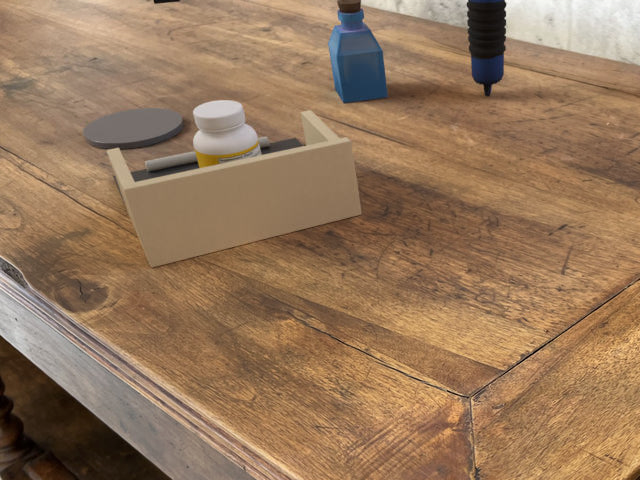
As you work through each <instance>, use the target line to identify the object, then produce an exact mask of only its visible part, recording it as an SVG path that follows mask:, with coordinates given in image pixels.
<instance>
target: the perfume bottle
mask: <svg viewBox="0 0 640 480" xmlns="http://www.w3.org/2000/svg"><path fill="white" fill-rule="evenodd" d="M336 3H337V6H338V9H337V11H336V13H337V18H338V21H339V22H340V24H337V25H334V26H333V29H332V32H331V35H330V37H329V40H328V43H327V45H328V53H329V59H330V65H331V71H332V79H333V85H334V91H336V93H337V95H338V97H339V98H340V100H341V102H342V103H343V104H348V103H349V104H350V103H354V102H364V101H370V100H377V99H385V98H388V97H389V95H388V87H387V78H386V77H387V76H386V70H385V69H386V67H385V60H384V51H383V49H382V47H381V45H380V43H379V42H378V40H377V38H376V37H375V35H374V33H373V32H372V30H371V28H369V26H368V25H367V24H366V23H365V22H364V19H365V12H364V9H363V8H362V0H336Z"/></svg>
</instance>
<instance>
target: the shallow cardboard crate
mask: <svg viewBox="0 0 640 480" xmlns="http://www.w3.org/2000/svg"><path fill="white" fill-rule="evenodd" d="M300 117H301V123H302V130H303V134H304V140H305V145H303V144H302V143H301V142H300V140H299V139H298V138H297V137H293V138H288V139H283V140H282V139H281V140H278V141H273V142H270V140H269V137H268V136H262V137H261V136H260V137H258V140H259V145H260V149H261V154H262V155H260V156H255V157H251V158H246V159H241V160H236V161H232V162H227V163H222V164H218V165H213V166H208V167H204V168H200V167H199V164H198V160H197V157H196V153H195V150H194V151H188V152H184V153H177V154H174V155H173V154H172V155H168V156H163V157H160V158H159V157H158V158H154V159H149V160H145V161H144V166H145V168H144V169H139V170H134V171H130V169H129V167H128V165H127V162H126V160H125V158H124V156H123V153H122V152H121V149H119V148H115V149H106V153H107V156H108V159H109V162H110V165H111V168H112V170H113V174H114V175H113V179H114V182H115V185H116V187H117V190H118V192H119V194H120V198H121V199H122V202H123V204H124V206H125V209H126V212H127V214H128V216H129V219H130V221H131V223H132V226H133V228H134V231H135V233H136V235H137V238H138V240H139V243H140V245H141V248H142V251H143V252H144V255H145V258H146V259H147V262H148V264H149V267H150V269H153V268H156V267H161V266H164V265H169V264H172V263H176V262H181V261H184V260H189V259H192V258H195V257H199V256H200V257H201V256H203V255H207V254H211V253H215V252H219V251H224V250H228V249H231V248H234V247H235V248H236V247H239V246H244V245H247V244H251V243H255V242H259V241H262V240H263V241H264V240H267V239H271V238H274V237H278V236H283V235H287V234H290V233H291V234H292V233H294V232H295V233H296V232H299V231H302V230H306V229H310V228H314V227H318V226H323V225H327V224H329V223H334V222H338V221H341V220H345V219H349V218H353V217H358V216H361V215H363V214H362V206H361V199H360V192H359V186H358V179H357V171H356V165H355V158H354V151H353V144H352V140H351V139H350V138H349V137H347V136H346V137H345V136H344V137H339V135H337V134H336V132H334V131H333V130H332V129H331V128H330V127H329V126H328V125H327V124H326V123H325V122H324V121H323V120H322V119H320V118H319V117H318V115H316V113H314V111H312V110H311V109H309V110H304V111H300Z"/></svg>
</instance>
